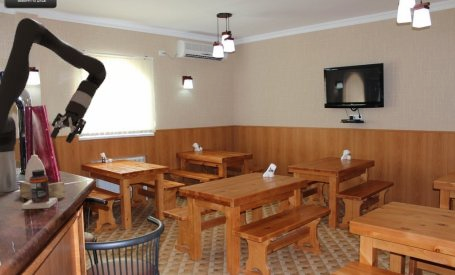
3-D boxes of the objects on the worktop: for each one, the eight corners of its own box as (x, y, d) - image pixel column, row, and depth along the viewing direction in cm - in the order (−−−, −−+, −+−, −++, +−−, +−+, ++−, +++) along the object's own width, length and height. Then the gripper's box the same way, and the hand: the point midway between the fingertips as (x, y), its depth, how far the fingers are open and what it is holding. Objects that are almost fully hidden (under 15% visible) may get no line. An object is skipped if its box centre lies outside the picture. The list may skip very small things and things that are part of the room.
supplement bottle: (44, 198, 142) (42, 168, 141) (52, 200, 138) (50, 169, 137) (28, 201, 137) (26, 170, 136) (36, 203, 133) (33, 172, 132)
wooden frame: (39, 202, 142) (38, 186, 141) (20, 196, 152) (19, 182, 151) (65, 196, 150) (64, 181, 149) (45, 191, 160) (44, 177, 159)
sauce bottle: (31, 193, 157) (28, 150, 155) (23, 191, 162) (20, 149, 160) (50, 190, 163) (47, 148, 162) (41, 187, 168) (38, 147, 166)
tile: (22, 209, 132) (22, 204, 132) (32, 202, 141) (32, 198, 141) (49, 207, 134) (48, 203, 133) (57, 201, 142) (57, 197, 142)
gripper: (60, 97, 153) (40, 132, 148) (86, 102, 148) (66, 139, 143) (72, 106, 160) (54, 140, 155) (97, 111, 154) (79, 147, 149)
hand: (60, 140), depth 149 cm, fingers open, 8 cm apart
